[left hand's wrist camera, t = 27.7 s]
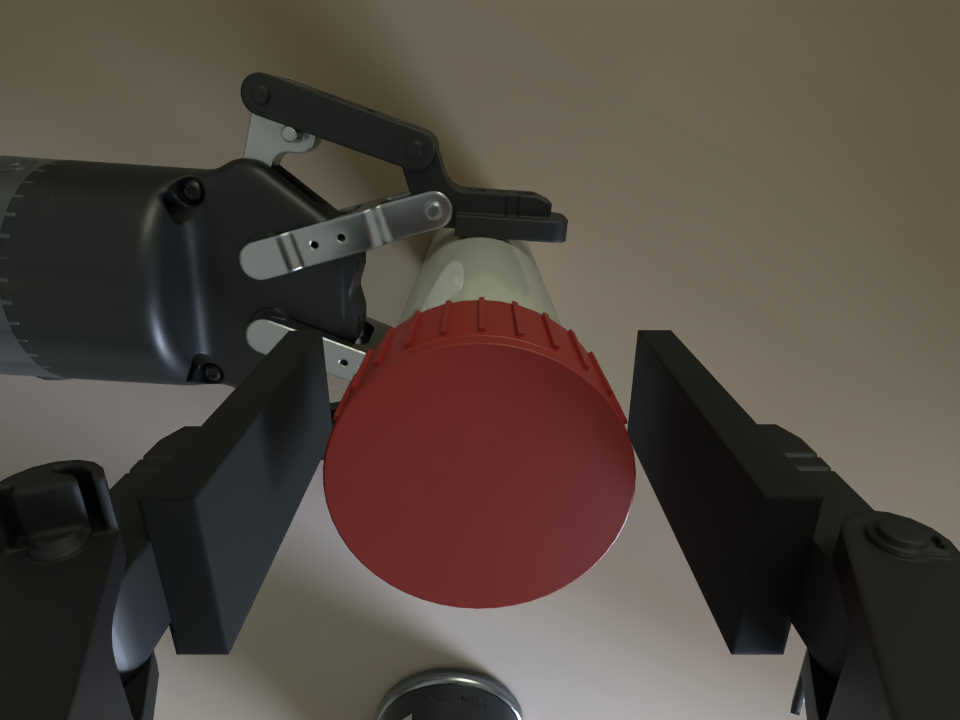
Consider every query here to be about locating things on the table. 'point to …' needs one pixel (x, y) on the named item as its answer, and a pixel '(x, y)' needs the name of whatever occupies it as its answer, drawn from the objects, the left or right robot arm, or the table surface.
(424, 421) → the lid
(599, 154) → the table surface
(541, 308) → the bottle
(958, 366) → the table surface
